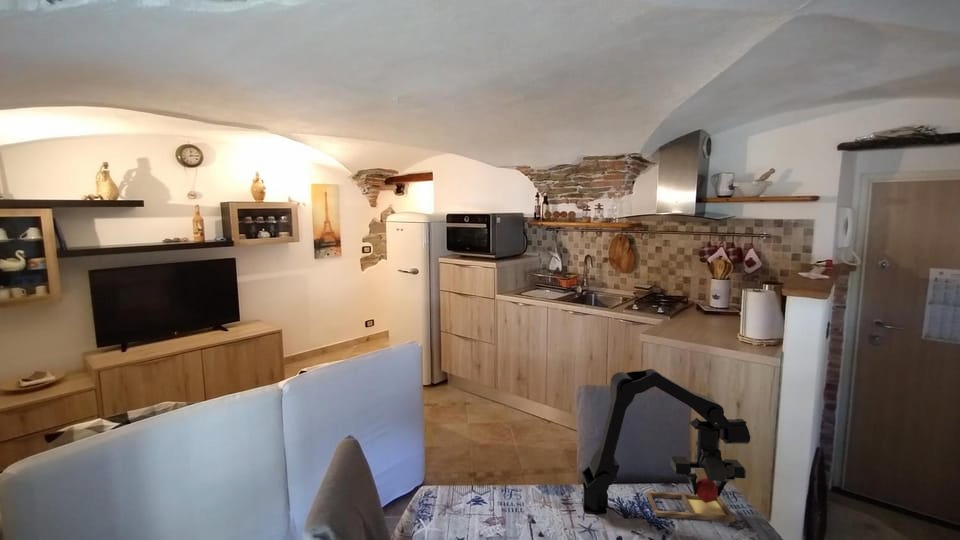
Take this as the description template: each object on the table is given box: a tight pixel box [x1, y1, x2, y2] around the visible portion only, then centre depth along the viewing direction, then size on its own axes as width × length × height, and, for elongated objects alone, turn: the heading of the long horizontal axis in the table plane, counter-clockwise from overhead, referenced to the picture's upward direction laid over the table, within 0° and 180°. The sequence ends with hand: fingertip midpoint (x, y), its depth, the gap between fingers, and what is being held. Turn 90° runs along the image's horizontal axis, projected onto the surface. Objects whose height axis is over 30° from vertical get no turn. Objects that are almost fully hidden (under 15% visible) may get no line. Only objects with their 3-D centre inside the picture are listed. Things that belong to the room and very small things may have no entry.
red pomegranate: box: [696, 475, 718, 503], centre depth 131 cm, size 6×6×8 cm
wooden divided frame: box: [645, 490, 736, 523], centre depth 132 cm, size 21×11×1 cm, turn 83°
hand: (706, 495), depth 131 cm, fingers closed on red pomegranate, 6 cm apart
